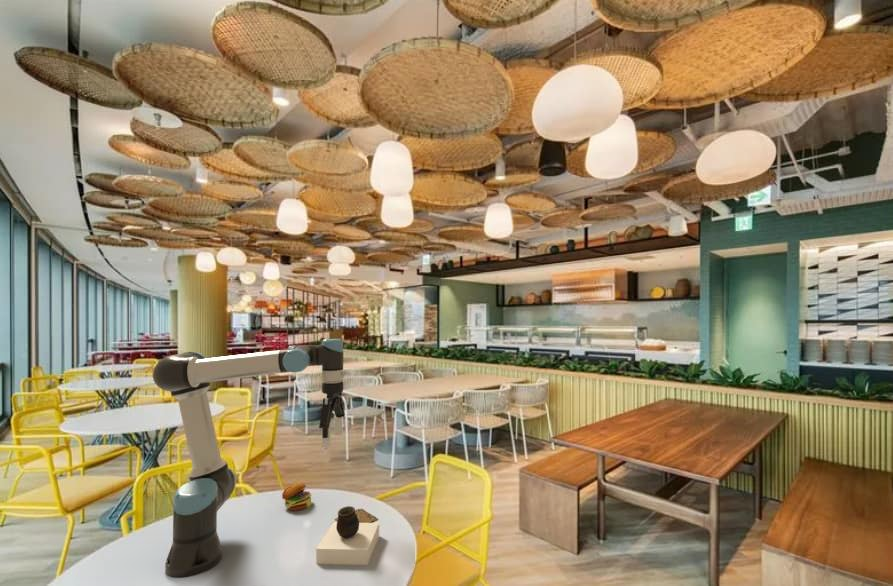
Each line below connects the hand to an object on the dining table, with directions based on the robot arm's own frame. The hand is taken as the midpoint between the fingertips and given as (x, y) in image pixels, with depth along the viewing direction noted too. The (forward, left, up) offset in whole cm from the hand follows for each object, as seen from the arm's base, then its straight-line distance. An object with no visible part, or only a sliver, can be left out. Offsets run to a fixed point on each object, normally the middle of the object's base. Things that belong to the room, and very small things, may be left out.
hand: (332, 440), depth 148 cm
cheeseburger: (-20, +16, -31) cm, 40 cm away
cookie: (+7, +6, -31) cm, 33 cm away
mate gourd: (+10, -13, -26) cm, 31 cm away
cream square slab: (+10, -13, -31) cm, 35 cm away
